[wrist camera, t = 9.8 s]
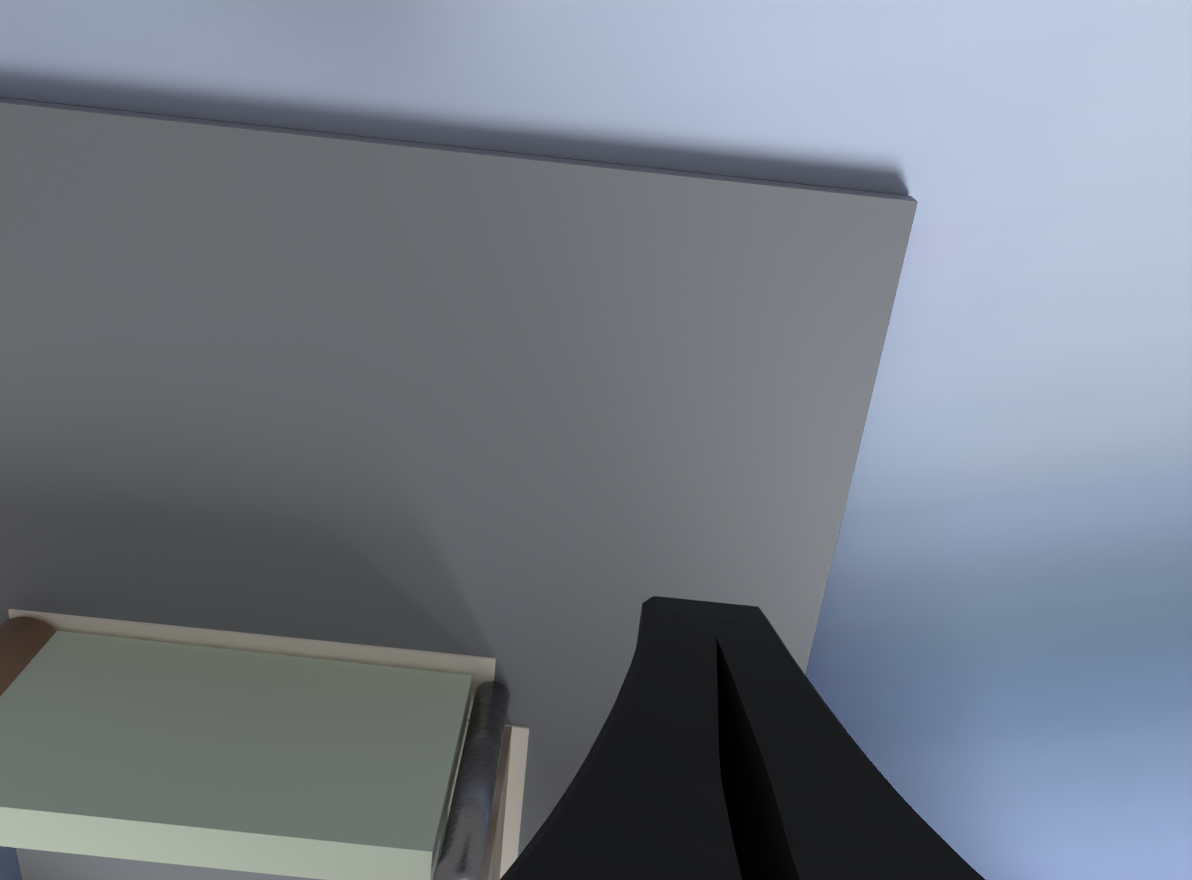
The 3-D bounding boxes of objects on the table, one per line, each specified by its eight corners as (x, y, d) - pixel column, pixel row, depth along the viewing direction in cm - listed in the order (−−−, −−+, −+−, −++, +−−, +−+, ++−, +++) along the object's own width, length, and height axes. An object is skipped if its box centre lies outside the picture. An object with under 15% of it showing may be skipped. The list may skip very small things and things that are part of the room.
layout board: (910, 195, 18) (918, 202, 18) (725, 986, 28) (727, 1005, 27) (-123, 84, 18) (-145, 87, 18) (43, 920, 28) (32, 938, 27)
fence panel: (512, 669, 23) (481, 853, 18) (507, 724, 23) (476, 916, 19) (-9, 612, 22) (-179, 784, 18) (1, 670, 23) (-160, 850, 18)
